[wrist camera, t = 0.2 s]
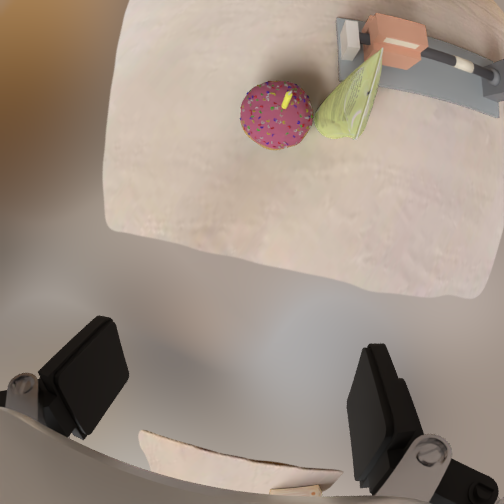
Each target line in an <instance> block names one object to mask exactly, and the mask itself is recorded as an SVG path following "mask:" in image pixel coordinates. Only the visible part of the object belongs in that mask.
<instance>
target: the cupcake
mask: <svg viewBox="0 0 504 504" xmlns="http://www.w3.org/2000/svg"><path fill="white" fill-rule="evenodd" d="M240 120H241V125H242V128H243V130H244V132H245V133H246V135H247V136H248V137H249V138H251V139H252V140H253V141H255V142H256V143H258V144H259V145H261V146H262V147H264V148H266V149H270V150H279V149H284V148H288V147H291V146H295V145H297V144H299V143H300V142H301V141H302V139H303V138H304V137H305V136H306V134H307V133H308V131H309V129H310V128H311V125H312V121H313V109H312V105H311V103H310V100H309V96H307V95H306V93H305V92H304V91H303V89H302V88H301V86H297V84H294V83H292V82H284V81H270V82H269V81H268V82H266V83H263V84H261V85H257V86H256V87H254V88H252V89H251V90H250V91H249V92H248V94H247V95H246V97H245V99H244V100H243V102H242V105H241V118H240Z"/></svg>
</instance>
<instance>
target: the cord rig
mask: <svg viewBox="0 0 504 504" xmlns="http://www.w3.org/2000/svg"><path fill="white" fill-rule="evenodd" d="M365 23H366V22H363V21H357V20H350V19H342V18H336V30H337V44H338V63H339V81H343V80H345V79H346V78H347V77H348V76H349V75H350V74H351V73H352V72H353V71H354V70H355V69H357V68H358V67H359V66H360V65H361V64H362V63H364V52H363V44H365V45H370V44H371V43H370V34H368V33H362V29H363V27H364V25H365ZM427 39H428V45H429V47H427V48H426V49H425V50H423V51H422V52H421V60H420V61H419V62H418V63H416V64H415V65H413V66H412V67H411V68H409V69H408V70H404V69H399V68H395V67H390V66H384V65H382V69H381V76H380V81H379V85H378V86H379V87H385V88H391V89H396V90H401V91H406V92H411V93H415V94H419V95H424V96H428V97H432V98H436V99H439V100H443V101H447V102H450V103H453V104H457V105H460V106H463V107H466V108H469V109H472V110H475V111H478V112H481V113H484V114H487V115H489V116H492V117H495V118H499V104H498V102H500V101H504V59H503V60H500V61H497V62H495V63H493V61H491V60H489V59H487V58H484V57H482V56H480V55H478V54H475V53H473V52H470V51H468V50H465V49H463V48H460V47H458V46H455V45H452V44H449V43H447V42H444V41H441V40H438V39H435V38H431V37H428V36H427Z"/></svg>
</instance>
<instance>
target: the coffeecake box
mask: <svg viewBox="0 0 504 504" xmlns="http://www.w3.org/2000/svg"><path fill="white" fill-rule="evenodd" d="M269 495H283V496H304V497H322V491H321V489H320V487H319V485H313V486H306V487H297V488H286V489H270V493H269Z"/></svg>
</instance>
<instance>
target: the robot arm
mask: <svg viewBox="0 0 504 504" xmlns="http://www.w3.org/2000/svg"><path fill="white" fill-rule="evenodd" d="M38 373H39V375H40V378H39V379H37V377H36V376H35V375H33V374H31V373H22V374H19V375H17V376H15V377H14V378H13V379H11V381H10V382H9V385H8V389H7V390H5V391H0V504H504V497H502V498H501V499H500V498H499V497H498V486H497V483H496V482H495V481H494V479H492V478H490V477H489V476H487V475H485V474H483V473H480V472H478V471H476V470H474V469H472V468H470V467H468V466H466V465H464V464H462V463H460V462H458V461H455V460H454V459H452V458H451V457H452V448H451V446H450V444H449V443H448V441H446V439H444V438H443V437H441V436H439V435H435V434H425V435H424V433H423V430H422V427H421V424H420V421H419V418H418V415H417V413H416V409H415V407H414V404H413V401H412V398H411V396H410V393H409V391H408V388H407V385H406V383H405V381H404V379H402V378H398V376H397V373H396V370H395V368H394V365H393V363H392V360H391V357H390V355H389V353H388V350H387V348H386V345H385V344H369V345H368V347H367V348H363V349H362V353H361V357H360V360H359V364H358V367H357V370H356V374H355V377H354V381H353V384H352V387H351V390H350V393H349V396H348V399H347V413H348V421H349V428H350V437H351V446H352V456H353V466H354V477H355V480H356V481H360V488H367V487H369V490H370V493H371V494H372V496H334V497H304V496H283V495H268V494H258V493H249V492H241V491H234V490H228V489H222V488H216V487H211V486H206V485H201V484H196V483H192V482H187V481H183V480H179V479H175V478H172V477H168V476H164V475H161V474H158V473H154V472H151V471H148V470H145V469H142V468H138V467H136V466H133V465H130V464H127V463H125V462H122V461H119V460H117V459H114V458H111V457H109V456H107V455H104V454H102V453H99V452H97V451H95V450H92V449H90V448H88V447H86V446H84V445H82V444H79V443H77V442H75V441H73V440H71V439H70V437H69V436H70V434H71V433H73V435H74V436H76V437H78V438H80V439H82V440H84V439H85V438H86V436H87V435H90V434H91V433H92V432H93V430H94V429H95V427H96V426H97V424H98V423H99V421H100V420H101V418H102V417H103V415H104V414H105V412H106V411H107V409H108V408H109V407H110V405H111V404H112V402H113V401H114V399H115V398H116V396H117V395H118V393H119V392H120V391H121V389H122V388H123V386H124V384H125V383H126V382H127V380H128V378H129V371H128V368H127V364H126V361H125V358H124V354H123V350H122V346H121V343H120V339H119V335H118V331H117V327H116V324H115V323H114V322H113V320H112V319H111V318H109V317H104V316H97V317H96V318H94V319H93V320H92V321H91V322H90V323H89V324H88V325H86V326H85V327H84V328H83V329H82V330H81V331H80V332H79V333H78V334H77V335H76V336H75V337H73V338H72V339H71V340H70V341H69V342H68V343H67V344H66V345H65V346H64V347H63V348H62V349H61V350H60V351H59V352H58V353H57V354H56V355H55V356H53V357H52V358H51V359H50V360H49V361H48V362H47V363H46V364H45V365H44V366H43V367H42V368H41V369H40V370H39V371H38Z"/></svg>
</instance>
